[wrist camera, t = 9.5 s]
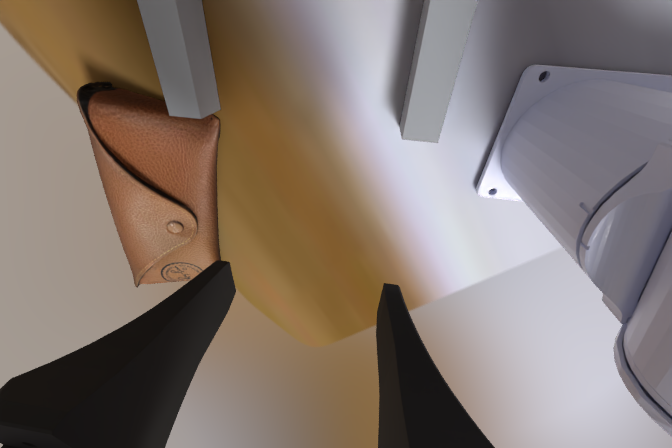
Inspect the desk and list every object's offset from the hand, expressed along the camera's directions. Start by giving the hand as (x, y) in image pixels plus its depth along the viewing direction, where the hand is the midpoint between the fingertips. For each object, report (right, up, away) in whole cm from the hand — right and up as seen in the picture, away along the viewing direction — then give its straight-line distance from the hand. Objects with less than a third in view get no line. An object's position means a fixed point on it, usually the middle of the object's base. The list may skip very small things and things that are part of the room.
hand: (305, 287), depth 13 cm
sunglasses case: (-12, +5, +11) cm, 17 cm away
